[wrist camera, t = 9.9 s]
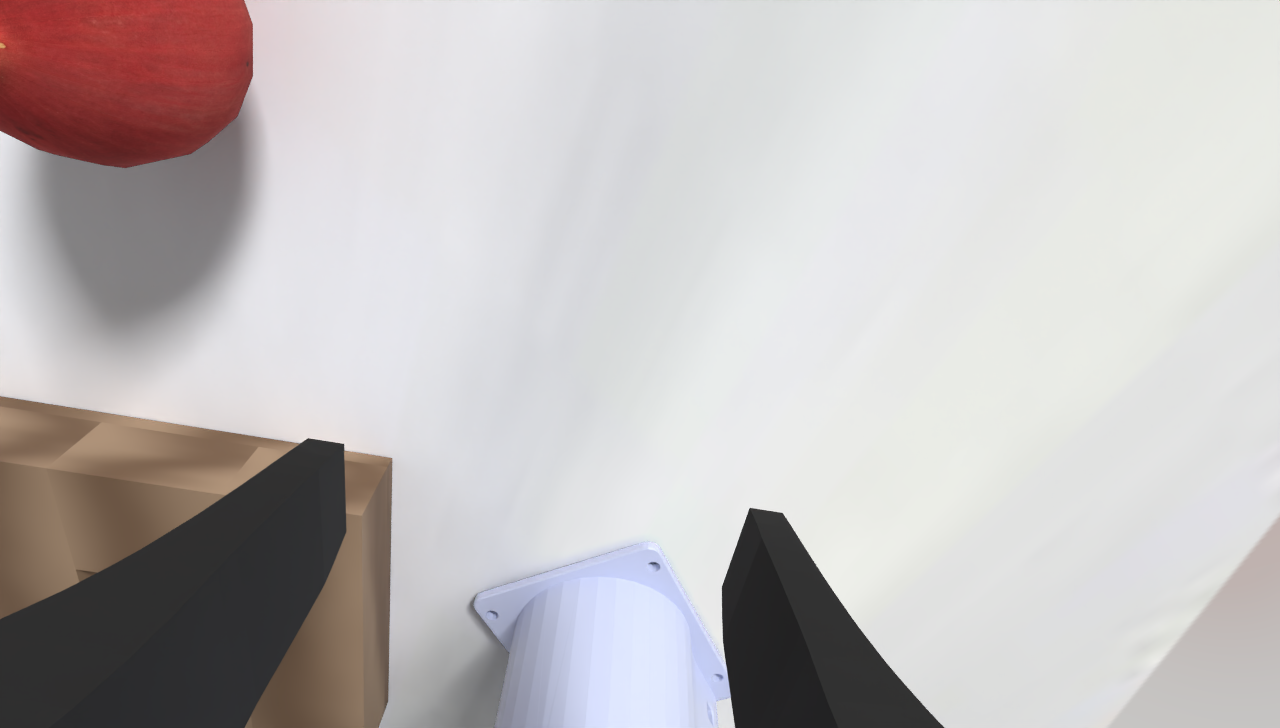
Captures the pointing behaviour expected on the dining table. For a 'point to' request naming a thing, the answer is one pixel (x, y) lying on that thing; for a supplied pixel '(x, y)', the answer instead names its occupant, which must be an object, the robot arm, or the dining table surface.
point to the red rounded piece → (122, 75)
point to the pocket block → (169, 496)
